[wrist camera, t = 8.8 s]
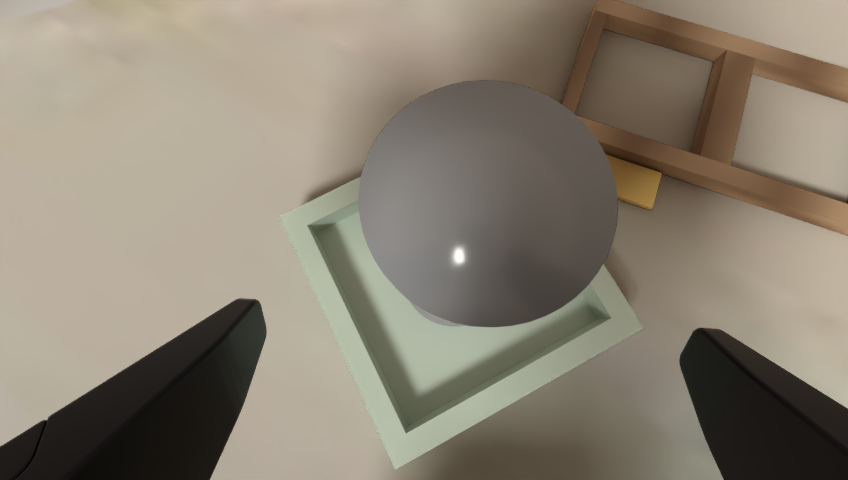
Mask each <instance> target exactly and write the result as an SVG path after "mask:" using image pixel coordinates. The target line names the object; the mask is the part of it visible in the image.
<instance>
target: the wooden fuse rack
mask: <svg viewBox="0 0 848 480" xmlns="http://www.w3.org/2000/svg"><path fill="white" fill-rule="evenodd" d="M603 28H604V29H607V30H610V31H614V32H617V33H620V34H623V35H627V36H630V37H633V38H637V39H640V40H643V41H646V42H650V43H653V44H656V45H660V46H663V47H666V48H670V49H673V50H676V51H679V52H683V53H686V54H689V55H693V56H696V57H699V58H703V59H706V60H709V61H712V62H714V64H713V68H712V72H711V76H710V79H709V83H708V87H707V91H706V95H705V99H704V103H703V107H702V111H701V114H700V118H699V122H698V126H697V130H696V134H695V138H694V142H693V145H692V149H691V153H690V152H687V151H684V150H681V149H678V148H675V147H672V146H669V145H666V144H663V143H660V142H657V141H654V140H651V139H648V138H644V137H641V136H638V135H635V134H632V133H629V132H626V131H623V130H620V129H617V128H614V127H611V126H608V125H605V124H602V123H599V122H595V121H592V120H589V119H586V118H583V117H580V116H577V115H576V116H577V117H578V118H579V119H580V120H581V121H582V122H583V123H584V124H585V125H586V126H587V127H588V129H589V130H590V131H591V132H592V133H593V135H594V136H595V138H596V139H597V141H598V142H599V144H600V145H601V147H602V149H603V151H604V153H605V155H606V157H607V159H608V161H609V163H610V166H611V169H612V172H613V175H614V179H615V184H616V190H617V199H620V200H622V201H625V202H628V203H631V204H634V205H637V206H640V207H643V208H646V209H649V210H650V209H652V208H653V205H654V201H655V198H656V194H657V190H658V187H659V183H660V179H661V176H662V174H665V175H668V176H670V177H673V178H676V179H679V180H682V181H685V182H688V183H691V184H694V185H697V186H700V187H703V188H706V189H709V190H712V191H715V192H718V193H721V194H724V195H727V196H730V197H733V198H736V199H739V200H742V201H745V202H748V203H751V204H754V205H757V206H760V207H763V208H766V209H769V210H772V211H775V212H778V213H781V214H784V215H787V216H790V217H793V218H796V219H799V220H802V221H805V222H808V223H811V224H814V225H817V226H820V227H823V228H826V229H829V230H832V231H835V232H838V233H841V234H844V235H847V236H848V204H847V203H843V202H840V201H837V200H834V199H831V198H828V197H825V196H822V195H819V194H816V193H813V192H810V191H807V190H804V189H801V188H798V187H794V186H791V185H788V184H785V183H782V182H779V181H776V180H773V179H770V178H767V177H764V176H761V175H758V174H755V173H752V172H749V171H745V170H742V169H739V168H736V167H733V166H731V162H732V158H733V154H734V149H735V145H736V141H737V136H738V132H739V128H740V124H741V119H742V115H743V111H744V106H745V102H746V98H747V93H748V89H749V85H750V81H751V76H752V74H755V75H759V76H762V77H765V78H769V79H772V80H775V81H778V82H782V83H785V84H788V85H792V86H795V87H798V88H801V89H805V90H808V91H811V92H815V93H818V94H821V95H825V96H828V97H831V98H834V99H838V100H841V101H844V102H848V69H846V68H843V67H840V66H836V65H833V64H830V63H826V62H823V61H819V60H816V59H813V58H809V57H806V56H802V55H799V54H796V53H792V52H789V51H786V50H782V49H779V48H775V47H772V46H769V45H765V44H762V43H758V42H755V41H752V40H748V39H745V38H742V37H738V36H735V35H731V34H728V33H725V32H721V31H718V30H714V29H711V28H708V27H704V26H701V25H698V24H694V23H691V22H687V21H684V20H681V19H677V18H674V17H670V16H667V15H664V14H660V13H657V12H654V11H650V10H647V9H643V8H640V7H637V6H633V5H630V4H627V3H623V2H620V1H616V0H598V1H597V3H596V5H595V7H594V9H593V11H592V14H591V17H590V20H589V23H588V26H587V29H586V32H585V35H584V38H583V41H582V43H581V46H580V49H579V52H578V55H577V58H576V61H575V64H574V67H573V70H572V73H571V76H570V78H569V81H568V84H567V87H566V90H565V93H564V96H563V99H562V102H561V104H562V105H563V106H565V107H566V108H568V109H569V110H570V111H572V112H573V113H574V114H575V111H576V108H577V105H578V102H579V99H580V96H581V93H582V90H583V87H584V84H585V81H586V78H587V75H588V72H589V69H590V66H591V63H592V60H593V57H594V54H595V51H596V48H597V45H598V42H599V39H600V36H601V33H602V30H603Z"/></svg>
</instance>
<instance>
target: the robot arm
mask: <svg viewBox="0 0 848 480" xmlns="http://www.w3.org/2000/svg"><path fill="white" fill-rule="evenodd" d="M265 338H266V324H265V320H264V316H263V312H262V308H261V304H260V302H259V301H258V300H256V299H243V298H241V299H237V300H235V301H233V302H231V303H230V304H228V305H227V306H225V307H223V308H222V309H220V310H219V311H217V312H215V313H214V314H212V315H211V316H209V317H207V318H206V319H204V320H203V321H201V322H199V323H198V324H196V325H195V326H193V327H191V328H190V329H188V330H187V331H185V332H183V333H182V334H180V335H179V336H177V337H175V338H174V339H172V340H171V341H169V342H167V343H166V344H164V345H163V346H161V347H159V348H158V349H156V350H155V351H153V352H151V353H150V354H148V355H147V356H145V357H143V358H142V359H140V360H139V361H137V362H135V363H134V364H132V365H131V366H129V367H127V368H126V369H124V370H123V371H121V372H119V373H118V374H116V375H115V376H113V377H111V378H110V379H108V380H107V381H105V382H103V383H102V384H100V385H99V386H97V387H95V388H94V389H92V390H91V391H89V392H87V393H86V394H84V395H83V396H81V397H79V398H78V399H76V400H75V401H73V402H71V403H70V404H68V405H67V406H65V407H63V408H62V409H60V410H59V411H57V412H55V413H54V414H52V415H51V416H49V417H48V419H47V420H43V421H41V422H39V423H38V424H36V425H34V426H33V427H31V428H30V429H28V430H26V431H25V432H23V433H22V434H20V435H18V436H17V437H15V438H14V439H12V440H10V441H9V442H7V443H5V444H4V445H2V446H0V480H210V478H211V476H212V474H213V471H214V469H215V467H216V465H217V463H218V460H219V458H220V456H221V454H222V452H223V449H224V447H225V445H226V443H227V441H228V438H229V436H230V434H231V432H232V430H233V428H234V425H235V423H236V421H237V419H238V416H239V414H240V412H241V409H242V407H243V404H244V402H245V399H246V396H247V393H248V390H249V387H250V384H251V381H252V378H253V375H254V372H255V369H256V366H257V363H258V360H259V357H260V354H261V351H262V348H263V345H264V342H265ZM680 368H681V371H682V374H683V376H684V379H685V382H686V385H687V388H688V391H689V394H690V397H691V400H692V402H693V405H694V408H695V411H696V414H697V417H698V420H699V423H700V426H701V428H702V431H703V434H704V436H705V439H706V441H707V444H708V446H709V448H710V451H711V453H712V455H713V457H714V459H715V462H716V464H717V466H718V468H719V470H720V472H721V475H722V477H723V479H724V480H848V409H847V408H846V407H844V406H842V405H841V404H839V403H838V402H836V401H834V400H833V399H831V398H830V397H828V396H826V395H825V394H823V393H822V392H820V391H818V390H817V389H815V388H814V387H812V386H810V385H809V384H807V383H806V382H804V381H802V380H801V379H799V378H798V377H796V376H794V375H793V374H791V373H790V372H788V371H786V370H785V369H783V368H781V367H780V366H778V365H777V364H775V363H773V362H772V361H770V360H769V359H767V358H765V357H764V356H762V355H761V354H759V353H757V352H756V351H754V350H753V349H751V348H749V347H748V346H746V345H745V344H743V343H741V342H740V341H738V340H737V339H735V338H733V337H732V336H730V335H729V334H727V333H725V332H724V331H722V330H719V329H711V328H698V329H696V330H695V331H694V332H693V333H692V335H691V337H690V338H689V340H688V342H687V344H686V346H685V348H684V349H683V351H682V353H681V355H680Z"/></svg>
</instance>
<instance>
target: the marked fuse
mask: <svg viewBox="0 0 848 480" xmlns="http://www.w3.org/2000/svg"><path fill="white" fill-rule="evenodd" d="M359 215H360V221H361V226H362V231H363V234H364V237H365V240H366V243H367V246H368V248H369V250H370V252H371V254H372V256H373V258H374V260H375V262H376V263H377V265H378V266H379V268H380V269H381V271H382V272H383V274H384V275H385V276H386V277H387V279H388V280H389V281H390V282H391V283H392V284H393V285H394V287H395V288H396V289H397V290H398V291H399V292H400V293H401V294H402V295H403V296H404V297H406V298H407V299H408V300H409V301H410V303H411V304H412V306H413V307H414V308H415V309H416V310H417V311H418V312H419V313H420V314H421V315H422V316H424V317H425V318H427V319H428V320H430V321H432V322H434V323H437V324H440V325H444V326H455V327H456V326H471V327H505V326H514V325H519V324H523V323H528V322H531V321H534V320H537V319H539V318H542V317H545V316H547V315H549V314H551V313H553V312H555V311H556V310H558V309H560V308H562V307H563V306H565V305H566V304H567V303H569V302H570V301H572V300H573V299H574V298H576V297H577V296H578V295H579V294H580V293H581V292H582V291H583V290H584V289H585V288H586V287H587V286H588V285H589V284H590V282H591V281H592V280H593V278H594V277H595V276H596V275H597V273H598V272H599V270H600V268H601V267H602V265H603V263H604V261H605V260H606V258H607V256H608V253H609V250H610V248H611V245H612V243H613V239H614V235H615V230H616V226H617V215H618V200H617V190H616V184H615V179H614V175H613V172H612V169H611V166H610V163H609V161H608V159H607V157H606V155H605V153H604V151H603V149H602V147H601V145H600V144H599V142H598V141H597V139H596V138H595V136H594V135H593V133H592V132H591V131H590V130H589V129H588V127H587V126H586V125H585V124H584V123H583V122H582V121H581V120H580V119H579V118H578V117H577V116H576V115H575V114H574V113H573V112H572V111H570V110H569V109H568V108H566V107H565V106H563V105H562V104H561V103H559V102H558V101H556V100H554V99H552V98H551V97H549V96H547V95H545V94H543V93H541V92H538V91H536V90H533V89H531V88H528V87H525V86H521V85H517V84H514V83H508V82H501V81H486V80H480V81H467V82H461V83H456V84H451V85H448V86H445V87H442V88H439V89H436V90H434V91H431V92H429V93H427V94H425V95H423V96H421V97H419V98H418V99H416V100H415V101H413V102H411V103H410V104H408V105H407V106H406V107H405V108H403V109H402V110H401V111H400V112H398V113H397V114H396V115H395V116H394V117H393V118H392V119H391V120H390V121H389V122H388V124H387V125H386V126H385V127H384V128H383V130H382V131H381V133H380V134H379V135H378V137H377V138H376V140H375V142H374V144H373V145H372V147H371V149H370V151H369V153H368V156H367V159H366V161H365V164H364V167H363V171H362V175H361V179H360V187H359Z"/></svg>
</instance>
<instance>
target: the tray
mask: <svg viewBox="0 0 848 480" xmlns="http://www.w3.org/2000/svg"><path fill="white" fill-rule="evenodd" d="M360 179H361V176H360V177H358V178H356V179H354V180H352V181H350V182H348V183H346V184H344V185H342V186H340V187H338V188H336V189H334V190H332V191H330V192H328V193H326V194H324V195H322V196H320V197H318V198H316V199H314V200H312V201H310V202H308V203H305V204H303V205H301V206H299V207H297V208H295V209H293V210H291V211H289V212H287V213H285V214H283V215H281V216H279V218H280V220H281V222H282V224H283V227H284V229H285V231H286V233H287V235H288V238H289V240H290V242H291V244H292V246H293V248H294V251H295V253H296V255H297V257H298V259H299V261H300V264H301V266H302V268H303V270H304V272H305V275H306V277H307V279H308V281H309V283H310V285H311V288H312V290H313V292H314V294H315V296H316V299H317V301H318V303H319V305H320V307H321V309H322V312H323V314H324V316H325V318H326V320H327V322H328V325H329V327H330V329H331V331H332V333H333V336H334V338H335V340H336V342H337V344H338V346H339V349H340V351H341V353H342V355H343V357H344V359H345V362H346V364H347V366H348V368H349V370H350V373H351V375H352V377H353V379H354V381H355V383H356V386H357V388H358V390H359V392H360V394H361V397H362V399H363V401H364V403H365V405H366V407H367V410H368V412H369V414H370V416H371V418H372V420H373V423H374V425H375V427H376V429H377V431H378V434H379V436H380V438H381V440H382V442H383V444H384V447H385V449H386V451H387V453H388V455H389V457H390V460H391V462H392V464H393V466H394V468H395V470H396V469H398V468H400V467H401V466H403V465H405V464H407V463H408V462H410V461H412V460H414V459H415V458H417V457H419V456H421V455H422V454H424V453H426V452H428V451H429V450H431V449H433V448H435V447H436V446H438V445H440V444H442V443H443V442H445V441H447V440H449V439H450V438H452V437H454V436H456V435H457V434H459V433H461V432H463V431H464V430H466V429H468V428H470V427H472V426H473V425H475V424H477V423H479V422H480V421H482V420H484V419H486V418H487V417H489V416H491V415H493V414H494V413H496V412H498V411H500V410H501V409H503V408H505V407H507V406H508V405H510V404H512V403H514V402H515V401H517V400H519V399H521V398H522V397H524V396H526V395H528V394H529V393H531V392H533V391H535V390H536V389H538V388H540V387H542V386H544V385H545V384H547V383H549V382H551V381H552V380H554V379H556V378H558V377H559V376H561V375H563V374H565V373H566V372H568V371H570V370H572V369H573V368H575V367H577V366H579V365H580V364H582V363H584V362H586V361H587V360H589V359H591V358H593V357H594V356H596V355H598V354H600V353H601V352H603V351H605V350H607V349H608V348H610V347H612V346H614V345H615V344H617V343H619V342H621V341H623V340H624V339H626V338H628V337H630V336H631V335H633V334H635V333H637V332H638V331H640V330H642V329H644V327H643V325H642V323H641V322H640V320H639V319H638V317H637V316H636V314H635V312H634V311H633V309H632V308H631V306H630V305H629V303H628V301H627V300H626V298H625V297H624V295H623V294H622V292H621V290H620V289H619V287H618V286H617V284H616V283H615V281H614V279H613V278H612V276H611V275H610V273H609V272H608V270H607V268H606V267H605V265H604V264H603V265H602V267H601V268H600V270H599V272H598V273H597V275H596V276H595V277H594V278H593V280H592V281H591V282H590V284H589V285H588V286H587V287H586V288H585V289H584V290H583V291H582V292H581V293H580V294H579V295H578V296H577V297H576V298H574V299H573V300H572V301H570V302H569V303H567V304H566V305H565V306H563V307H562V308H560V309H558V310H556V311H555V312H553V313H551V314H549V315H547V316H545V317H542V318H539V319H537V320H534V321H531V322H528V323H523V324H519V325H514V326H505V327H471V326H456V327H455V326H444V325H440V324H437V323H434V322H432V321H430V320H428V319H427V318H425V317H424V316H422V315H421V314H420V313H419V312H418V311H417V310H416V309H415V308H414V307H413V306H412V304H411V303H410V301H409V300H408V299H407V298H406V297H404V296H403V295H402V294H401V293H400V292H399V291H398V290H397V289H396V288H395V287H394V285H393V284H392V283H391V282H390V281H389V280H388V279H387V277H386V276H385V275H384V274H383V272H382V271H381V269H380V268H379V266H378V265H377V263H376V262H375V260H374V258H373V256H372V254H371V252H370V250H369V248H368V246H367V243H366V240H365V237H364V234H363V231H362V226H361V221H360V215H359V187H360Z"/></svg>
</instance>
